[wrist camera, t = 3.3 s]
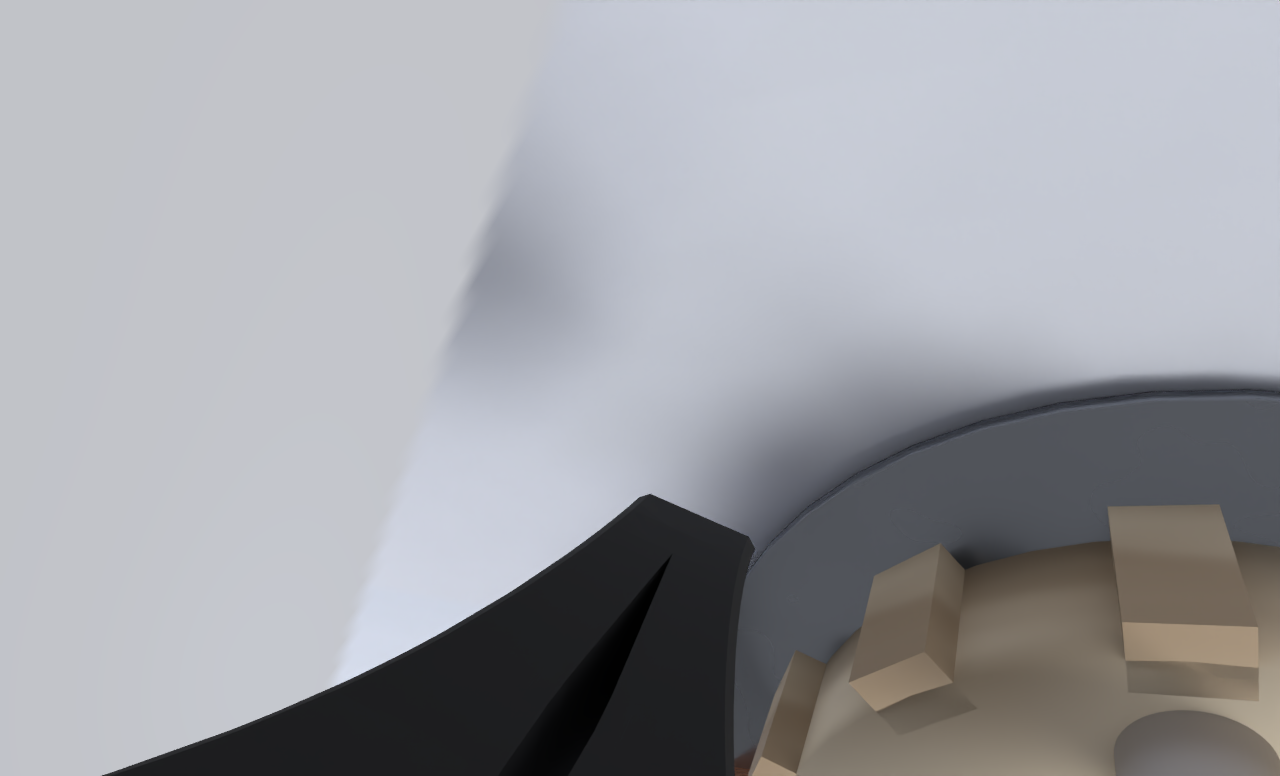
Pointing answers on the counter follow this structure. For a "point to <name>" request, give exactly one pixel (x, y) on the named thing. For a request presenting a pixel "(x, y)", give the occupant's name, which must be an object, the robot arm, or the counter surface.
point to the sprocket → (1051, 663)
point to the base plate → (998, 512)
